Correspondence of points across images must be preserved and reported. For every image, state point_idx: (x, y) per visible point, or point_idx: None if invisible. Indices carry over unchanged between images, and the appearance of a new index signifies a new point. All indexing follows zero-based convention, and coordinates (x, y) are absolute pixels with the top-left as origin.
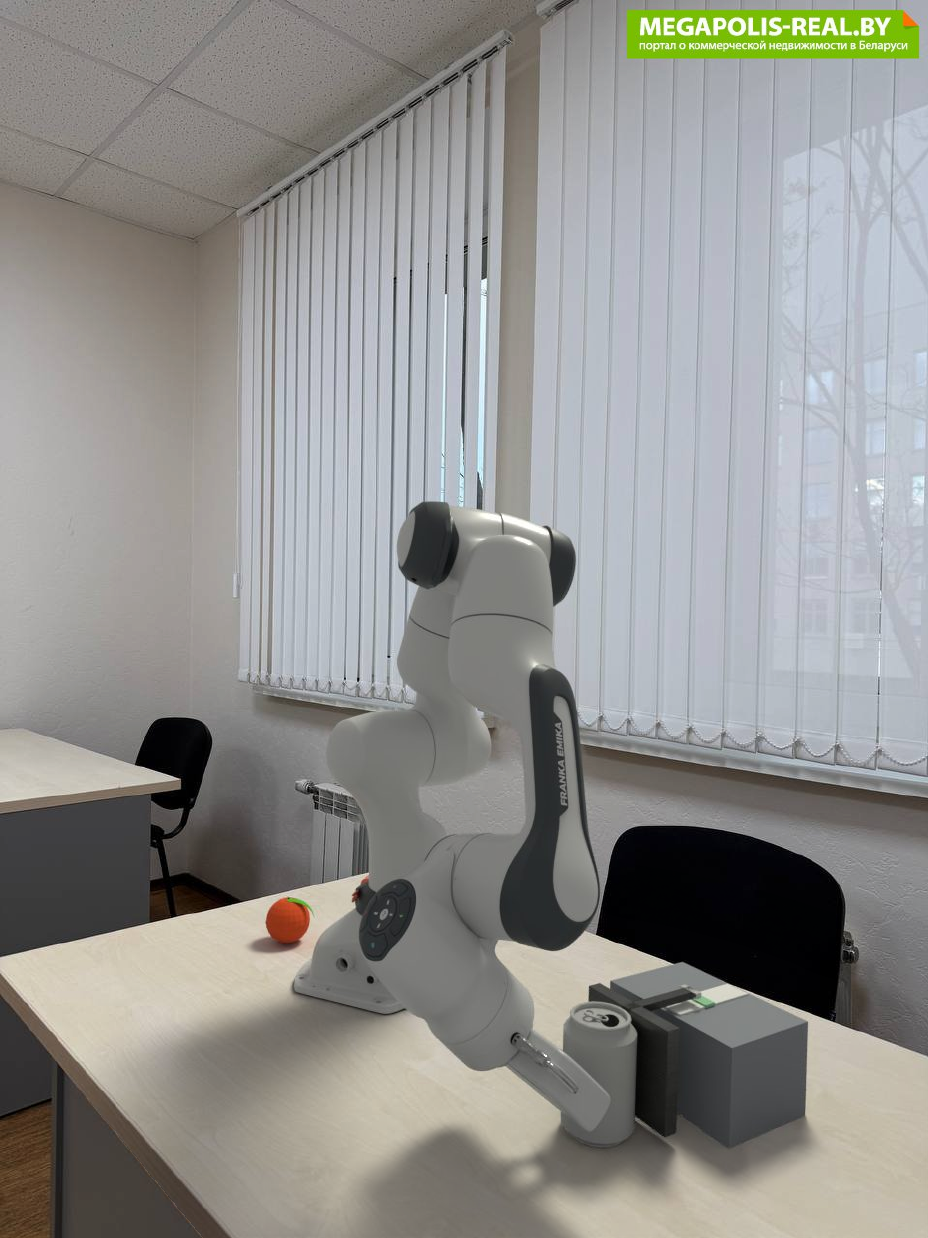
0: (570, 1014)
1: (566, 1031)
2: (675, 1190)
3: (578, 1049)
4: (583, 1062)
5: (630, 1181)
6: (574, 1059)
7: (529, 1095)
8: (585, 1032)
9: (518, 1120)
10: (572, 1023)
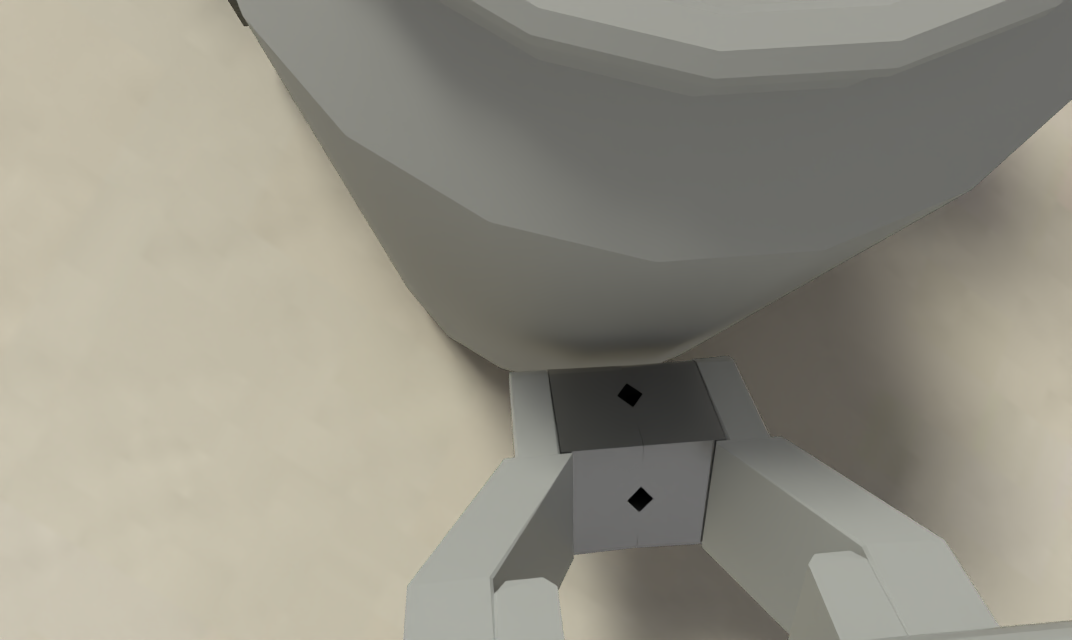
0: (489, 5)
1: (566, 227)
2: (1063, 159)
3: (828, 257)
4: (840, 261)
5: (950, 296)
6: (734, 303)
7: (146, 344)
8: (933, 75)
9: (320, 529)
10: (592, 89)
